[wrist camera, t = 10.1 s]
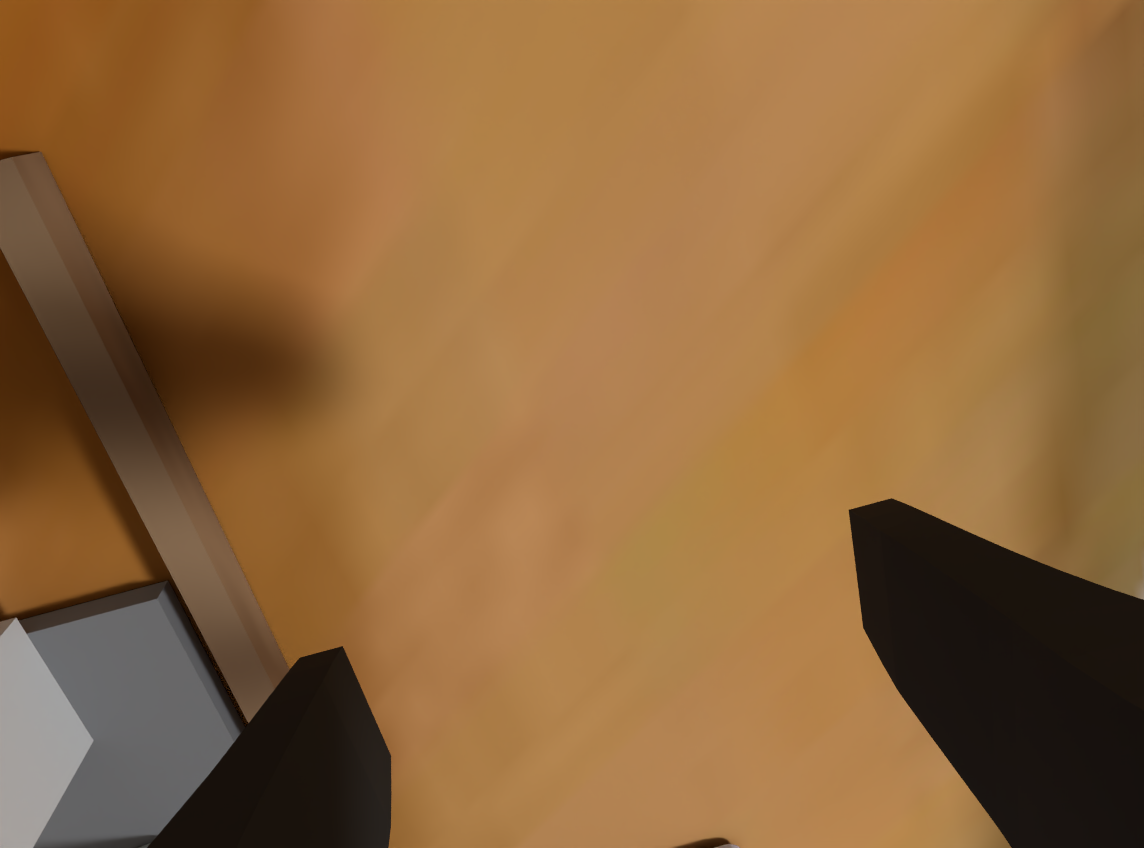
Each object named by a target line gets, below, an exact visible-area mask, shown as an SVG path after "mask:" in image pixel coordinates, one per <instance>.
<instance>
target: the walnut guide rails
mask: <svg viewBox="0 0 1144 848" xmlns="http://www.w3.org/2000/svg"><path fill="white" fill-rule="evenodd" d="M0 248H1V250H2V252H3V254H4V256H5V258H6V260H7V262H8V263H9V265H10V267H11V269H12V271H13V273H14V275H15V277H16V279H17V281H18V283H19V285H20V286H21V288H22V290H23V292H24V294H25V296H26V298H27V300H28V302H29V304H30V306H31V308H32V309H33V311H34V313H35V315H36V317H37V319H38V321H39V323H40V325H41V327H42V329H43V331H44V332H45V334H46V336H47V338H48V340H49V342H50V344H51V346H52V348H53V350H54V352H55V354H56V355H57V357H58V359H59V361H60V363H61V365H62V367H63V369H64V371H65V373H66V375H67V377H68V378H69V380H70V382H71V384H72V386H73V388H74V390H75V392H76V394H77V396H78V398H79V400H80V401H81V403H82V405H83V407H84V409H85V411H86V413H87V415H88V417H89V419H90V421H91V423H92V424H93V426H94V428H95V430H96V432H97V434H98V436H99V438H100V440H101V442H102V444H103V446H104V447H105V449H106V451H107V453H108V455H109V457H110V459H111V461H112V463H113V465H114V467H115V469H116V470H117V472H118V474H119V476H120V478H121V480H122V482H123V484H124V486H125V488H126V490H127V492H128V493H129V495H130V497H131V499H132V501H133V503H134V505H135V507H136V509H137V511H138V513H139V515H140V516H141V518H142V520H143V522H144V524H145V526H146V528H147V530H148V532H149V534H150V536H151V538H152V539H153V541H154V543H155V545H156V547H157V549H158V551H159V553H160V555H161V557H162V559H163V561H164V562H165V564H166V566H167V568H168V570H169V572H170V574H171V576H172V578H173V580H174V582H175V584H176V585H177V587H178V589H179V591H180V593H181V595H182V597H183V599H184V601H185V603H186V605H187V606H188V608H189V610H190V612H191V614H192V616H193V618H194V620H195V622H196V624H197V626H198V628H199V629H200V631H201V633H202V635H203V637H204V639H205V641H206V643H207V645H208V647H209V649H210V651H211V652H212V654H213V656H214V658H215V660H216V662H217V664H218V666H219V668H220V670H221V672H222V674H223V675H224V677H225V679H226V681H227V683H228V685H229V687H230V689H231V691H232V693H233V695H234V697H235V698H236V700H237V702H238V704H239V706H240V708H241V710H242V712H243V714H244V716H245V718H246V720H247V721H248V723H249V722H250V721H251V720H252V718H253V717H254V716H255V714H256V713H257V712H258V710H259V709H260V708H261V706H262V705H263V704H264V702H265V701H266V700H267V698H268V697H269V696H270V695H271V693H272V692H273V691H274V689H275V688H276V687H277V685H278V684H279V683H280V682H281V680H282V679H283V678H284V676H285V675H286V674H287V673H288V671H289V668H288V666H287V663H286V661H285V659H284V657H283V655H282V653H281V651H280V649H279V647H278V645H277V643H276V641H275V638H274V636H273V634H272V632H271V630H270V628H269V626H268V624H267V622H266V620H265V618H264V615H263V613H262V611H261V609H260V607H259V605H258V603H257V601H256V599H255V597H254V595H253V593H252V590H251V588H250V586H249V584H248V582H247V580H246V578H245V576H244V574H243V572H242V570H241V568H240V565H239V563H238V561H237V559H236V557H235V555H234V553H233V551H232V549H231V547H230V545H229V542H228V540H227V538H226V536H225V534H224V532H223V530H222V528H221V526H220V524H219V522H218V520H217V517H216V515H215V513H214V511H213V509H212V507H211V505H210V503H209V501H208V499H207V497H206V495H205V492H204V490H203V488H202V486H201V484H200V482H199V480H198V478H197V476H196V474H195V472H194V469H193V467H192V465H191V463H190V461H189V459H188V457H187V455H186V453H185V451H184V449H183V447H182V444H181V442H180V440H179V438H178V436H177V434H176V432H175V430H174V428H173V426H172V424H171V422H170V419H169V417H168V415H167V413H166V411H165V409H164V407H163V405H162V403H161V401H160V399H159V396H158V394H157V392H156V390H155V388H154V386H153V384H152V382H151V380H150V378H149V376H148V374H147V371H146V369H145V367H144V365H143V363H142V361H141V359H140V357H139V355H138V353H137V351H136V349H135V346H134V344H133V342H132V340H131V338H130V336H129V334H128V332H127V330H126V328H125V326H124V323H123V321H122V319H121V317H120V315H119V313H118V311H117V309H116V307H115V305H114V303H113V301H112V298H111V296H110V294H109V292H108V290H107V288H106V286H105V284H104V282H103V280H102V278H101V276H100V273H99V271H98V269H97V267H96V265H95V263H94V261H93V259H92V257H91V255H90V253H89V250H88V248H87V246H86V244H85V242H84V240H83V238H82V236H81V234H80V232H79V230H78V228H77V225H76V223H75V221H74V219H73V217H72V215H71V213H70V211H69V209H68V207H67V205H66V203H65V200H64V198H63V196H62V194H61V192H60V190H59V188H58V186H57V184H56V182H55V180H54V177H53V175H52V173H51V171H50V169H49V167H48V165H47V163H46V161H45V159H44V157H43V155H42V152H37V153H31V154H26V155H21V156H15V157H10V158H7V159H3V160H0Z"/></svg>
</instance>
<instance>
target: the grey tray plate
mask: <svg viewBox="0 0 1144 848" xmlns="http://www.w3.org/2000/svg"><path fill="white" fill-rule="evenodd" d="M244 729H245V726H244V724H243V722H242V720H241V718H240V716H239V715H238V713H237V711H236V709H235V707H234V705H233V703H232V701H231V699H230V697H229V696H228V694H227V692H226V690H225V688H224V686H223V684H222V682H221V680H220V678H219V676H218V675H217V673H216V671H215V669H214V667H213V665H212V663H211V661H210V659H209V657H208V656H207V654H206V652H205V650H204V648H203V646H202V644H201V642H200V640H199V638H198V637H197V635H196V633H195V631H194V629H193V627H192V625H191V623H190V621H189V619H188V617H187V616H186V614H185V612H184V610H183V608H182V606H181V604H180V602H179V600H178V598H177V597H176V595H175V593H174V591H173V589H172V587H171V585H170V583H169V581H164V582H160V583H157V584H153V585H149V586H146V587H142V588H138V589H134V590H131V591H127V592H123V593H120V594H116V595H112V596H108V597H105V598H101V599H97V600H93V601H90V602H86V603H82V604H79V605H75V606H71V607H67V608H64V609H60V610H56V611H53V612H49V613H45V614H41V615H38V616H34V617H30V618H26V619H23V620H19V621H18V619H17V618H12V619H9V620H5V621H1V622H0V848H139V847H141V846H144V845H147V844H149V843H151V842H152V841H153V840H154V839H155V838H156V837H157V836H158V834H159V833H160V832H161V831H162V830H163V828H164V827H165V826H166V825H167V824H168V823H169V821H170V820H171V819H172V818H173V817H174V815H175V814H176V813H177V812H178V811H179V809H180V808H181V807H182V806H183V805H184V803H185V802H186V801H187V800H188V799H189V798H190V796H191V795H192V794H193V793H194V792H195V790H196V789H197V788H198V787H199V786H200V784H201V783H202V782H203V781H204V780H205V779H206V777H207V776H208V775H209V774H210V772H211V771H212V770H213V769H214V767H215V766H216V765H217V764H218V762H219V761H220V760H221V758H222V757H223V756H224V755H225V753H226V752H227V751H228V749H229V748H230V747H231V745H232V744H233V743H234V742H235V740H236V739H237V738H238V736H239V735H240V734H241V733H242V731H243V730H244Z"/></svg>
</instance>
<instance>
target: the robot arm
mask: <svg viewBox="0 0 1144 848" xmlns="http://www.w3.org/2000/svg"><path fill="white" fill-rule="evenodd" d="M849 516H850V524H851V532H852V540H853V548H854V556H855V564H856V572H857V580H858V588H859V596H860V605H861V613H862V621H863V628H864V630H865V632H866V634H867V636H868V638H869V639H870V641H871V643H872V645H873V647H874V649H875V651H876V652H877V654H878V656H879V658H880V660H881V662H882V664H883V665H884V667H885V669H886V671H887V672H888V674H889V676H890V678H891V679H892V681H893V683H894V685H895V686H896V688H897V690H898V691H899V693H900V694H901V695H902V697H903V698H904V700H905V701H906V703H907V704H908V705H909V707H910V708H911V709H912V711H913V712H914V714H915V715H916V716H917V718H918V719H919V720H920V722H921V723H922V725H923V726H924V727H925V729H926V730H927V732H928V733H929V734H930V736H931V737H932V738H933V740H934V741H935V742H936V744H937V745H938V747H939V748H940V749H941V751H942V752H943V753H944V755H945V756H946V757H947V759H948V760H949V761H950V763H951V764H952V766H953V767H954V768H955V770H956V771H957V772H958V774H959V775H960V776H961V778H962V779H963V780H964V782H965V783H966V785H967V786H968V787H969V789H970V790H971V791H972V793H973V794H974V795H975V797H976V798H977V799H978V801H979V802H980V804H981V805H982V806H983V808H984V809H985V810H986V812H987V813H988V814H989V816H990V817H991V818H992V820H993V821H994V823H995V824H996V825H997V827H998V828H999V830H1000V831H1001V832H1002V834H1003V835H1004V837H1005V838H1006V840H1007V841H1008V843H1009V844H1010V846H1011V847H1012V848H1144V600H1143V599H1139V598H1136V597H1133V596H1130V595H1127V594H1124V593H1121V592H1118V591H1115V590H1112V589H1109V588H1106V587H1104V586H1101V585H1098V584H1096V583H1093V582H1090V581H1087V580H1085V579H1082V578H1079V577H1076V576H1074V575H1071V574H1068V573H1066V572H1063V571H1060V570H1058V569H1055V568H1052V567H1050V566H1047V565H1045V564H1042V563H1040V562H1037V561H1035V560H1032V559H1030V558H1028V557H1025V556H1023V555H1020V554H1018V553H1015V552H1013V551H1011V550H1008V549H1006V548H1004V547H1001V546H999V545H997V544H994V543H992V542H990V541H988V540H985V539H983V538H981V537H978V536H976V535H974V534H972V533H969V532H967V531H965V530H963V529H961V528H958V527H956V526H954V525H952V524H950V523H947V522H945V521H943V520H941V519H938V518H936V517H934V516H932V515H930V514H927V513H925V512H923V511H921V510H918V509H916V508H914V507H912V506H909V505H907V504H905V503H902V502H900V501H897V500H894V499H892V498H891V499H888V500H884V501H880V502H877V503H873V504H869V505H865V506H862V507H858V508H854V509H851V510H849ZM390 829H391V755H390V752H389V750H388V748H387V746H386V743H385V741H384V739H383V737H382V734H381V732H380V730H379V727H378V725H377V723H376V721H375V718H374V716H373V714H372V712H371V709H370V707H369V705H368V703H367V700H366V698H365V696H364V693H363V691H362V689H361V687H360V684H359V682H358V680H357V678H356V675H355V673H354V671H353V668H352V666H351V664H350V662H349V659H348V657H347V655H346V653H345V650H344V648H343V646H342V647H338V648H334V649H331V650H327V651H323V652H320V653H316V654H312V655H308V656H305V657H301V658H299V660H298V661H297V662H296V663H295V664H294V665H293V667H292V668H291V669H290V670H289V671H288V673H287V674H286V675H285V676H284V678H283V679H282V680H281V682H280V683H279V684H278V685H277V687H276V688H275V689H274V691H273V692H272V693H271V695H270V696H269V697H268V698H267V700H266V701H265V702H264V704H263V705H262V706H261V708H260V709H259V710H258V712H257V713H256V714H255V716H254V717H253V718H252V720H251V721H250V722H249V724H248V725H247V726H246V727H245V729H244V730H243V731H242V733H241V734H240V735H239V736H238V738H237V739H236V740H235V742H234V743H233V744H232V745H231V747H230V748H229V749H228V751H227V752H226V753H225V755H224V756H223V757H222V758H221V760H220V761H219V762H218V764H217V765H216V766H215V767H214V769H213V770H212V771H211V772H210V774H209V775H208V776H207V777H206V779H205V780H204V781H203V782H202V783H201V784H200V786H199V787H198V788H197V789H196V790H195V792H194V793H193V794H192V795H191V796H190V798H189V799H188V800H187V801H186V802H185V803H184V805H183V806H182V807H181V808H180V809H179V811H178V812H177V813H176V814H175V815H174V817H173V818H172V819H171V820H170V821H169V823H168V824H167V825H166V826H165V827H164V828H163V830H162V831H161V832H160V833H159V834H158V836H157V837H156V838H155V839H154V840H153V841H152V842H151V844H150V845H149V846H148V847H147V848H388V846H389V837H390ZM714 848H740V847H738V846H737V845H732V844H726V845H721V846H718V847H714Z"/></svg>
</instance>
